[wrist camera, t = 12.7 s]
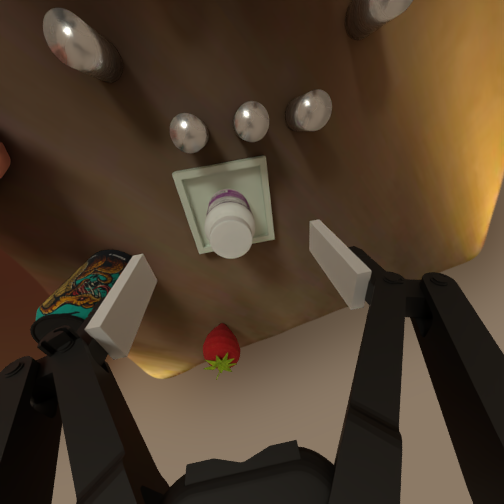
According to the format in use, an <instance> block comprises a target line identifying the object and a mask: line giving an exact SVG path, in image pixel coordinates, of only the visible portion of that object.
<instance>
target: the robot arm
mask: <svg viewBox="0 0 504 504" xmlns="http://www.w3.org/2000/svg"><path fill="white" fill-rule="evenodd" d="M309 250H310V252H311V253H312V255H313V256H314V258H315V259H316V261H317V262H318V263H319V265H320V266H321V268H322V269H323V271H324V272H325V273H326V275H327V276H328V278H329V279H330V281H331V282H332V284H333V285H334V286H335V288H336V289H337V291H338V292H339V294H340V295H341V296H342V298H343V299H344V301H345V302H346V304H347V305H348V307H349V308H350V309H351V310H353V309H358V308H363V307H364V303H365V300H366V302H367V303H368V304H369V305H370V306H369V310H368V314H367V319H366V324H365V328H364V333H363V337H362V342H361V346H360V351H359V356H358V360H357V365H356V369H355V373H354V379H353V383H352V387H351V392H350V396H349V401H348V405H347V410H346V414H345V419H344V423H343V428H342V432H341V437H340V441H339V445H338V449H337V454H336V458H335V463H334V465H333V464H332V463H331V462H330V461H329V460H327V459H326V458H325V457H323V456H322V455H320V454H319V453H317V452H315V451H313V450H310V449H307V448H304V447H298V445H297V441H296V440H294V441H289V442H285V443H281V444H276V445H272V446H269V447H267V448H266V449H264V450H263V451H261V452H259V453H258V454H256V455H254V456H253V457H251V458H250V459H248V460H246V461H245V462H241V463H240V462H233V461H227V460H220V459H210V460H205V461H201V462H196V463H192V464H188V465H187V466H186V474H185V475H183V476H182V477H181V478H179V479H178V480H177V481H176V482H175V483H174V484H173V485H172V486H171V487H169V485H168V484H167V482H166V481H165V479H164V478H163V477H162V476H161V474H160V473H159V471H158V469H157V467H156V465H155V463H154V461H153V459H152V457H151V454H150V452H149V450H148V448H147V446H146V444H145V442H144V440H143V437H142V435H141V433H140V431H139V429H138V427H137V425H136V422H135V420H134V418H133V416H132V414H131V412H130V410H129V408H128V405H127V404H126V401H125V399H124V397H123V395H122V393H121V391H120V389H119V386H118V385H117V382H116V380H115V378H114V376H113V374H112V371H111V369H110V367H109V365H108V363H107V362H105V359H106V357H107V355H108V354H109V356H111V358H112V359H119V358H124V357H127V356H128V353H129V351H130V348H131V346H132V343H133V341H134V338H135V336H136V333H137V331H138V328H139V326H140V323H141V321H142V318H143V316H144V313H145V311H146V308H147V306H148V303H149V301H150V298H151V296H152V293H153V291H154V288H155V286H156V283H157V279H156V277H155V275H154V273H153V271H152V270H151V268H150V266H149V264H148V262H147V260H146V258H145V257H144V255H143V254H139V255H134V256H133V257H132V258H131V260H130V261H129V263H128V264H127V266H126V267H125V269H124V270H123V272H122V273H121V275H120V276H119V278H118V279H117V281H116V282H115V284H114V285H113V287H112V288H111V290H110V291H109V293H108V294H107V296H105V297H103V298H102V299H100V300H99V301H98V302H97V303H96V304H95V306H94V307H93V309H92V311H91V312H90V313H89V314H88V317H86V319H85V320H84V322H83V323H82V325H81V326H80V328H79V329H78V330H77V332H75V331H74V330H73V329H72V328H71V327H70V326H67V325H64V326H61V327H58V328H56V329H54V330H52V331H51V332H49V333H48V334H46V335H45V336H44V337H43V338H42V339H41V341H40V342H39V343H38V348H39V349H40V350H41V351H43V352H44V353H45V354H47V356H46V357H43V358H41V359H39V360H34V359H33V358H32V357H30V356H26V357H22V358H20V359H17V360H16V361H14V362H12V363H10V364H9V365H8V366H7V367H5V368H4V369H3V370H2V371H1V372H0V504H51V503H52V495H53V488H54V480H55V473H56V465H57V458H58V450H59V442H60V435H61V428H62V424H63V429H64V434H65V439H66V445H67V450H68V455H69V460H70V466H71V471H72V475H73V481H74V487H75V491H76V497H77V503H76V504H400V490H401V467H402V437H401V434H400V432H399V411H400V393H401V376H402V356H403V340H404V322H405V317H410V318H411V321H412V324H413V327H414V330H415V333H416V336H417V339H418V342H419V345H420V348H421V351H422V354H423V357H424V360H425V363H426V366H427V369H428V372H429V375H430V378H431V381H432V384H433V387H434V390H435V393H436V396H437V399H438V402H439V405H440V408H441V411H442V414H443V417H444V420H445V423H446V426H447V429H448V432H449V435H450V438H451V441H452V443H453V447H454V450H455V453H456V456H457V459H458V462H459V464H460V468H461V471H462V474H463V476H464V479H465V482H466V485H467V488H468V491H469V494H470V496H471V499H472V501H473V504H504V354H503V353H502V351H501V350H500V348H499V347H498V345H497V344H496V342H495V341H494V339H493V337H492V336H491V334H490V333H489V331H488V330H487V328H486V327H485V325H484V324H483V322H482V321H481V319H480V318H479V316H478V315H477V313H476V312H475V310H474V308H473V307H472V305H471V304H470V302H469V301H468V299H467V298H466V296H465V295H464V293H463V292H462V290H461V289H460V287H459V286H458V284H457V283H456V282H455V280H454V279H452V278H450V277H449V276H447V275H444V274H441V273H435V272H432V273H426V274H424V275H423V277H422V279H421V280H407V279H404V278H403V277H402V276H401V275H399V274H397V273H393V272H386V271H385V270H384V269H383V268H382V267H381V266H379V265H378V264H377V263H376V262H375V261H374V260H373V259H371V257H369V256H368V255H367V254H366V253H365V252H364V251H363V250H362V249H359V248H357V247H355V246H353V247H347V246H346V245H345V244H344V243H343V242H342V241H341V240H340V239H339V238H338V237H337V236H336V235H335V234H334V233H333V232H332V231H330V230H329V229H328V228H327V227H326V226H325V225H324V224H323V223H322V222H321V221H320V220H313V221H310V241H309Z"/></svg>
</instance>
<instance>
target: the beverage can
mask: <svg viewBox="0 0 504 504" xmlns="http://www.w3.org/2000/svg"><path fill="white" fill-rule="evenodd" d="M131 258H132V256H130V255H128V254H126V253H124V252H121V251H118V250H103V251H99V252H97V253H95V254H94V255H93V256H92V257H91V258H89V259H88V260H87V261H86V262H85V263H84V264H83V265H82V266H81V267H80V268H79V269H78V270H77V271H76V272H75V273H74V274H73V275H72V276H71V277H70V278H69V279H68V280H66V281H65V282H64V283H63V284H62V285H61V286H60V287H59V288H58V289H57V290H56V291H55V292H54V293H53V294H52V295H51V296H50V297H49V298H48V299H47V300H46V301H45V302H43V303H42V304H41V306H40V307H39V308H38V310H37V314H36V321H35V322H34V323H33V325H32V326H31V329H30V330H31V335H32V337H33V339H34V340H35V341H36V342H37V343H39V342H40V341H41V339H42V338H43V337H44V336H45V335H46V334H48V333H49V332H51V331H52V330H54V329H56V328H58V327H61V326H64V325H67V326H70V327H71V328H72V329H73V330H74V331H75V332H77V330H78V329H79V328H80V326H81V325H82V323H83V322H84V320H85V319H86V317H88V314H89V313H90V312H91V311H92V309H93V307H94V306H95V304H96V303H97V302H98V301H99V300H100V299H102V298H103V297H105V296H107V294H108V293H109V291H110V290H111V288H112V287H113V285H114V284H115V282H116V281H117V279H118V278H119V276H120V275H121V273H122V272H123V270H124V269H125V267H126V266H127V264H128V263H129V261H130V260H131Z"/></svg>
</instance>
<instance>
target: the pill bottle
mask: <svg viewBox="0 0 504 504" xmlns="http://www.w3.org/2000/svg"><path fill="white" fill-rule="evenodd" d="M204 230H205V234H206V237H207V239H208V240H209V242H210V245H211V247H212V249H213V251H214V252H215V253H216V254H218V255H219V256H221V257H224V258H228V259H233V258H238V257H241V256H243V255H244V254H245V253H247V251H248V250H249V249H250V247H251V245H252V238H253V236H254V234H255V220H254V217H253V214H252V212H251V209H250V206H249V204H248V202H247V200H246V198H245V197H244V195H243V194H241V193H240V192H239V191H237V190H234V189H222V190H220V191H218V192H216V193H215V194H214V195H213V196H212V197H211V199H210V201H209V204H208V209H207V214H206V219H205V225H204Z"/></svg>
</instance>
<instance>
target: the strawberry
mask: <svg viewBox="0 0 504 504" xmlns="http://www.w3.org/2000/svg"><path fill="white" fill-rule="evenodd" d="M203 354H204V358H205V360H206V361H207V362H208V363H209V364H210V365H211V367H207V368H204V369H209V370H214V369H215V368H218V370H219V372H220V373H222V371H223V370H226V371H230V372H232V371H231V369H230V368H231V367H233V366H234V365H236V364H237V362H238V360H239V357H240V347H239V344H238V341H237V339H236V337H235V336H234V334H233V333H232V332H231V330H230V329H229V328H228V327H227V326H226V325H225V324H223V323H221V324H219V325H218V326H217V327H215V328H214V329H213V330H212V331H211V332H210V333H209V334H208V335H207V337H206V340H205V342H204V345H203ZM216 380H217V379H216Z"/></svg>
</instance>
